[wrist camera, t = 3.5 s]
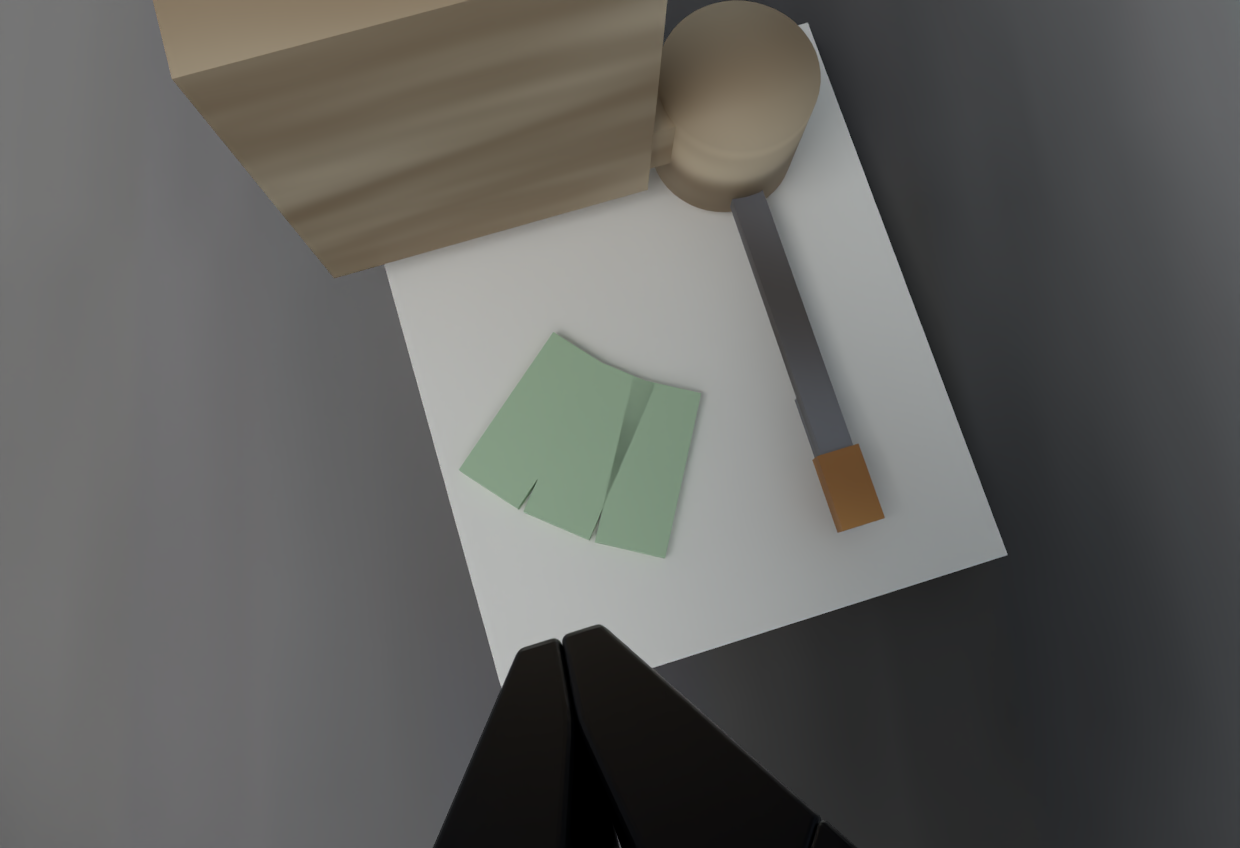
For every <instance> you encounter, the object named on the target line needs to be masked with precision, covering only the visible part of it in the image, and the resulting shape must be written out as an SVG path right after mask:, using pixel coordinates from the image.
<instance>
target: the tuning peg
mask: <svg viewBox="0 0 1240 848" xmlns="http://www.w3.org/2000/svg"><path fill="white" fill-rule="evenodd" d="M153 3H154V7H155V11H156V15H157V19H158V23H159V27H160V32H161V36H162V40H163V44H164V48H165V52H166V56H167V60H168V64H169V68H170V73H171V77H172V79H173V81H174V82H175V83H176V84H177V86H178V87H179V88H180V89H181V91H182V92H183V93H184V94H185V95H186V97H187V98H188V99H189V100H190V102H191V103H192V104H193V105H194V107H195V108H196V109H197V110H198V111H199V113H200V114H201V115H202V116H203V118H204V119H205V120H206V121H207V122H208V124H209V125H210V126H211V127H212V129H213V130H214V131H215V132H216V134H217V135H218V136H219V137H220V138H221V140H222V141H223V142H224V143H225V145H226V146H227V147H228V148H229V150H230V151H231V152H232V153H233V154H234V156H235V157H236V158H237V159H238V161H239V162H240V163H241V164H242V166H243V167H244V168H245V169H246V170H247V172H248V173H249V174H250V175H251V177H252V178H253V179H254V180H255V181H256V183H257V184H258V185H259V186H260V188H261V189H262V190H263V191H264V193H265V194H266V195H267V196H268V197H269V199H270V200H271V201H272V202H273V204H274V205H275V206H276V207H277V209H278V210H279V211H280V212H281V213H282V215H283V216H284V217H285V218H286V220H287V221H288V222H289V223H290V225H291V226H292V227H293V228H294V229H295V231H296V232H297V233H298V234H299V236H300V237H301V238H302V239H303V240H304V242H305V243H306V244H307V245H308V247H309V248H310V249H311V250H312V252H313V253H314V254H315V255H316V256H317V258H318V259H319V260H320V261H321V263H322V264H323V265H324V266H325V268H326V269H327V270H328V271H329V272H330V274H331V275H332V276H333V277H334V278H337V277H341V276H344V275H348V274H351V273H355V272H358V271H362V270H365V269H369V268H372V267H376V266H380V265H383V264H387V263H390V262H394V261H397V260H401V259H404V258H408V257H411V256H415V255H419V254H422V253H426V252H429V251H433V250H436V249H440V248H443V247H447V246H450V245H454V244H458V243H461V242H465V241H468V240H472V239H475V238H479V237H482V236H486V235H489V234H493V233H496V232H500V231H504V230H507V229H511V228H514V227H518V226H521V225H525V224H528V223H532V222H535V221H539V220H543V219H546V218H550V217H553V216H557V215H560V214H564V213H567V212H571V211H574V210H578V209H582V208H585V207H589V206H592V205H596V204H599V203H603V202H606V201H610V200H613V199H617V198H620V197H624V196H628V195H631V194H635V193H638V192H642V191H645V190H648V182H649V172H650V169H651V168H654V167H655V169H656V171H657V173H658V175H659V177H660V178H661V180H662V181H663V183H664V184H665V185H666V187H667V188H668V189H669V190H670V191H671V192H672V193H673V194H674V195H676V196H677V197H678V198H680V199H681V200H683V201H684V202H686V203H688V204H690V205H692V206H695V207H697V208H700V209H703V210H707V211H714V212H732V214H733V217H734V220H735V223H736V225H737V228H738V231H739V234H740V237H741V240H742V243H743V246H744V249H745V251H746V254H747V257H748V260H749V263H750V266H751V269H752V272H753V274H754V277H755V280H756V283H757V286H758V289H759V292H760V295H761V298H762V300H763V303H764V306H765V309H766V312H767V315H768V318H769V321H770V323H771V326H772V329H773V332H774V335H775V338H776V341H777V344H778V346H779V349H780V352H781V355H782V358H783V361H784V364H785V367H786V370H787V372H788V375H789V378H790V381H791V384H792V387H793V390H794V393H795V395H796V398H797V401H798V404H799V407H800V410H801V413H802V416H803V419H804V421H805V424H806V427H807V430H808V433H809V436H810V439H811V442H812V444H813V447H814V450H815V453H816V456H817V457H815V458H814V459H813V460H812V461H813V463H814V466H815V469H816V472H817V475H818V478H819V481H820V484H821V487H822V489H823V492H824V495H825V498H826V501H827V504H828V507H829V510H830V513H831V515H832V518H833V521H834V524H835V527H836V530H837V533H839V532H842V531H845V530H849V529H852V528H855V527H858V526H861V525H865V524H868V523H871V522H874V521H877V520H880V519H884V518H885V516H884V514H883V511H882V508H881V505H880V502H879V500H878V497H877V494H876V491H875V488H874V486H873V483H872V480H871V477H870V474H869V471H868V469H867V466H866V463H865V460H864V457H863V455H862V452H861V449H860V446H859V444H855V445H853V443H852V440H851V437H850V434H849V432H848V429H847V426H846V423H845V420H844V417H843V415H842V412H841V409H840V406H839V403H838V401H837V398H836V395H835V392H834V389H833V386H832V384H831V381H830V378H829V375H828V372H827V370H826V367H825V364H824V361H823V358H822V355H821V353H820V350H819V347H818V344H817V341H816V339H815V336H814V333H813V330H812V327H811V324H810V322H809V319H808V316H807V313H806V310H805V308H804V305H803V302H802V299H801V296H800V293H799V291H798V288H797V285H796V282H795V279H794V276H793V274H792V271H791V268H790V265H789V262H788V260H787V257H786V254H785V251H784V248H783V245H782V243H781V240H780V237H779V234H778V231H777V229H776V226H775V223H774V220H773V217H772V214H771V212H770V209H769V206H768V203H767V200H766V198H767V197H769V196H770V195H771V194H772V193H773V192H774V191H775V190H776V189H777V188H778V186H779V185H780V184H781V182H782V181H783V179H784V177H785V175H786V173H787V171H788V169H789V166H790V164H791V161H792V159H793V157H794V154H795V152H796V149H797V147H798V145H799V142H800V140H801V138H802V135H803V133H804V130H805V128H806V126H807V123H808V121H809V118H810V116H811V114H812V111H813V109H814V106H815V104H816V102H817V98H818V95H819V91H820V83H821V72H820V65H819V60H818V57H817V54H816V51H815V49H814V47H813V45H812V43H811V41H810V40H809V38H808V37H807V35H806V34H805V33H804V31H803V30H802V29H801V28H800V27H799V26H798V25H797V24H796V23H795V22H794V21H793V20H791V19H790V18H789V17H787V16H786V15H785V14H783V13H781V12H779V11H778V10H776V9H773V8H771V7H769V6H766V5H763V4H759V3H756V2H749V1H735V0H734V1H723V2H718V3H714V4H711V5H708V6H705V7H703V8H700V9H698V10H696V11H694V12H693V13H691V14H690V15H688V16H687V17H685V18H684V19H683V20H682V21H681V22H680V23H679V24H678V25H677V26H676V27H675V28H674V29H673V30H672V32H671V33H670V35H669V36H668V38H667V39H666V41H665V43H664V45H663V37H664V27H665V18H666V8H667V0H153ZM662 47H663V48H662Z"/></svg>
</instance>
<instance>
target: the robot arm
mask: <svg viewBox="0 0 1240 848" xmlns="http://www.w3.org/2000/svg"><path fill="white" fill-rule="evenodd" d="M616 834H617V835H616ZM617 836H618V839H619V842H620V845H621V848H857V847H856V846H855V845H854V844H852V843H851V842H850V841H849V840H848V839H847V838H846V837H845V836H843V835H842V834H841V833H840V832H839V831H838V830H837V829H835V828H834V827H833V826H832V825H831V824H830V823H829V822H827V821H821V818H820V816H819V815H818V814H817V813H816V812H815V811H813V810H812V809H811V808H810V807H809V806H808V805H807V804H805V803H804V802H803V801H802V800H801V799H800V798H799V797H798V796H796V795H795V794H794V793H793V792H792V791H791V790H790V789H789V788H787V787H786V786H785V785H784V784H783V783H782V782H781V781H779V780H778V779H777V778H776V777H775V776H774V775H773V774H772V773H770V772H769V771H768V770H767V769H766V768H765V767H764V766H762V765H761V764H760V763H759V762H758V761H757V760H756V759H755V758H753V757H752V756H751V755H750V754H749V753H748V752H747V751H745V750H744V749H743V748H742V747H741V746H740V745H739V744H738V743H736V742H735V741H734V740H733V739H732V738H731V737H730V736H728V735H727V734H726V733H725V732H724V731H723V730H722V729H721V728H719V727H718V726H717V725H716V724H715V723H714V722H713V721H712V720H710V719H709V718H708V717H707V716H706V715H705V714H704V713H702V712H701V711H700V710H699V709H698V708H697V707H696V706H695V705H693V704H692V703H691V702H690V701H689V700H688V699H687V698H685V697H684V696H683V695H682V694H681V693H680V692H679V691H678V690H676V689H675V688H674V687H673V686H672V685H671V684H670V683H668V682H667V681H666V680H665V679H664V678H663V677H662V676H661V675H659V674H658V673H657V672H656V671H655V670H654V669H653V668H651V667H650V666H649V665H648V664H647V663H646V662H645V661H644V660H642V659H641V658H640V657H639V656H638V655H637V654H636V653H634V652H633V651H632V650H631V649H630V648H629V647H628V646H627V645H625V644H624V643H623V642H622V641H621V640H620V639H619V638H618V637H616V636H615V635H614V634H613V633H612V632H611V631H610V630H608V629H607V628H606V627H604V626H603V625H600V624H597V625H593V626H590V627H586V628H583V629H580V630H577V631H574V632H570V633H568V634H566V635H565V636H564V637H563V639H562V643H561V641H560V640H558V639H556V638H551V639H548V640H545V641H542V642H539V643H536V644H532V645H529V646H526V647H523V648H521V649H520V650H519V651H518V652H517V654H516V656H515V658H514V660H513V663H512V665H511V667H510V670H509V672H508V674H507V677H506V679H505V681H504V684H503V686H502V688H501V691H500V693H499V695H498V698H497V700H496V702H495V705H494V707H493V709H492V712H491V714H490V716H489V719H488V721H487V723H486V726H485V728H484V730H483V733H482V735H481V737H480V739H479V742H478V744H477V746H476V749H475V751H474V753H473V756H472V758H471V760H470V763H469V765H468V767H467V770H466V772H465V774H464V777H463V779H462V781H461V784H460V786H459V788H458V791H457V793H456V795H455V798H454V800H453V802H452V805H451V807H450V809H449V812H448V814H447V816H446V819H445V821H444V823H443V826H442V828H441V830H440V833H439V835H438V837H437V840H436V842H435V844H434V847H433V848H619V844H618V839H617Z"/></svg>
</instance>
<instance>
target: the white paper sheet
mask: <svg viewBox="0 0 1240 848" xmlns="http://www.w3.org/2000/svg"><path fill="white" fill-rule="evenodd" d="M798 26H799V27H800V28H801V29H802V30H803V31H804V33H805V34H806V35H807V37H808V38H809V40H810V41H811V43H812V45H813V47H814V49H815V51H816V54H817V57H818V60H819V65H820V72H821V83H820V91H819V95H818V98H817V102H816V104H815V106H814V109H813V111H812V114H811V116H810V118H809V121H808V123H807V126H806V128H805V130H804V133H803V135H802V138H801V140H800V142H799V145H798V147H797V149H796V152H795V154H794V157H793V159H792V161H791V164H790V166H789V169H788V171H787V173H786V175H785V177H784V179H783V181H782V182H781V184H780V185H779V186H778V188H777V189H776V190H775V191H774V192H773V193H772V194H771V195H770V196H769V197H767V198H766V200H767V203H768V206H769V209H770V212H771V214H772V217H773V220H774V223H775V226H776V229H777V231H778V234H779V237H780V240H781V243H782V245H783V248H784V251H785V254H786V257H787V260H788V262H789V265H790V268H791V271H792V274H793V276H794V279H795V282H796V285H797V288H798V291H799V293H800V296H801V299H802V302H803V305H804V308H805V310H806V313H807V316H808V319H809V322H810V324H811V327H812V330H813V333H814V336H815V339H816V341H817V344H818V347H819V350H820V353H821V355H822V358H823V361H824V364H825V367H826V370H827V372H828V375H829V378H830V381H831V384H832V386H833V389H834V392H835V395H836V398H837V401H838V403H839V406H840V409H841V412H842V415H843V417H844V420H845V423H846V426H847V429H848V432H849V434H850V437H851V440H852V443H853V445H855V444H859V446H860V449H861V452H862V455H863V457H864V460H865V463H866V466H867V469H868V471H869V474H870V477H871V480H872V483H873V486H874V488H875V491H876V494H877V497H878V500H879V502H880V505H881V508H882V511H883V514H884V516H885V518H884V519H880V520H877V521H874V522H871V523H868V524H865V525H861V526H858V527H855V528H852V529H849V530H845V531H842V532H839V533H837V530H836V527H835V524H834V521H833V518H832V515H831V513H830V510H829V507H828V504H827V501H826V498H825V495H824V492H823V489H822V487H821V484H820V481H819V478H818V475H817V472H816V469H815V466H814V463H813V461H812V460H813V459H814V458H815V457H817V456H816V453H815V450H814V447H813V444H812V442H811V439H810V436H809V433H808V430H807V427H806V424H805V421H804V419H803V416H802V413H801V410H800V407H799V404H798V401H797V398H796V395H795V393H794V390H793V387H792V384H791V381H790V378H789V375H788V372H787V370H786V367H785V364H784V361H783V358H782V355H781V352H780V349H779V346H778V344H777V341H776V338H775V335H774V332H773V329H772V326H771V323H770V321H769V318H768V315H767V312H766V309H765V306H764V303H763V300H762V298H761V295H760V292H759V289H758V286H757V283H756V280H755V277H754V274H753V272H752V269H751V266H750V263H749V260H748V257H747V254H746V251H745V249H744V246H743V243H742V240H741V237H740V234H739V231H738V228H737V225H736V223H735V220H734V217H733V214H732V212H714V211H707V210H703V209H700V208H697V207H695V206H692V205H690V204H688V203H686V202H684V201H683V200H681V199H680V198H678V197H677V196H676V195H674V194H673V193H672V192H671V191H670V190H669V189H668V188H667V187H666V185H665V184H664V183H663V181H662V180H661V178H660V177H659V175H658V173H657V171H656V169H655V167H654V168H651V169H650V172H649V182H648V190H645V191H642V192H638V193H635V194H631V195H628V196H624V197H620V198H617V199H613V200H610V201H606V202H603V203H599V204H596V205H592V206H589V207H585V208H582V209H578V210H574V211H571V212H567V213H564V214H560V215H557V216H553V217H550V218H546V219H543V220H539V221H535V222H532V223H528V224H525V225H521V226H518V227H514V228H511V229H507V230H504V231H500V232H496V233H493V234H489V235H486V236H482V237H479V238H475V239H472V240H468V241H465V242H461V243H458V244H454V245H450V246H447V247H443V248H440V249H436V250H433V251H429V252H426V253H422V254H419V255H415V256H411V257H408V258H404V259H401V260H397V261H394V262H390V263H387V264H384V265H385V269H386V272H387V276H388V280H389V283H390V287H391V290H392V294H393V298H394V301H395V305H396V309H397V312H398V316H399V319H400V323H401V327H402V330H403V334H404V337H405V341H406V345H407V348H408V352H409V356H410V359H411V363H412V366H413V370H414V374H415V377H416V381H417V385H418V388H419V392H420V395H421V399H422V403H423V406H424V410H425V413H426V417H427V421H428V424H429V428H430V432H431V435H432V439H433V442H434V446H435V450H436V453H437V457H438V460H439V464H440V468H441V471H442V475H443V479H444V482H445V486H446V489H447V493H448V497H449V500H450V504H451V508H452V511H453V515H454V518H455V522H456V526H457V529H458V533H459V536H460V540H461V544H462V547H463V551H464V555H465V558H466V562H467V565H468V569H469V573H470V576H471V580H472V583H473V587H474V591H475V594H476V598H477V602H478V605H479V609H480V612H481V616H482V620H483V623H484V627H485V630H486V634H487V638H488V641H489V645H490V649H491V652H492V656H493V659H494V663H495V667H496V670H497V674H498V678H499V681H500V685H501V688H502V686H503V684H504V681H505V679H506V677H507V674H508V672H509V670H510V667H511V665H512V663H513V660H514V658H515V656H516V654H517V652H518V651H519V650H520V649H521V648H523V647H526V646H529V645H532V644H536V643H539V642H542V641H545V640H548V639H551V638H556V639H558V640H560V641H561V643H562V639H563V637H564V636H565V635H566V634H568V633H570V632H574V631H577V630H580V629H583V628H586V627H590V626H593V625H597V624H600V625H603V626H604V627H606V628H607V629H608V630H610V631H611V632H612V633H613V634H614V635H615V636H616V637H618V638H619V639H620V640H621V641H622V642H623V643H624V644H625V645H627V646H628V647H629V648H630V649H631V650H632V651H633V652H634V653H636V654H637V655H638V656H639V657H640V658H641V659H642V660H644V661H645V662H646V663H647V664H648V665H649V666H650V667H651V668H654V667H657V666H660V665H663V664H666V663H670V662H673V661H676V660H679V659H682V658H685V657H688V656H692V655H695V654H698V653H701V652H704V651H707V650H710V649H714V648H717V647H720V646H723V645H726V644H729V643H732V642H736V641H739V640H742V639H745V638H748V637H751V636H754V635H758V634H761V633H764V632H767V631H770V630H773V629H777V628H780V627H783V626H786V625H789V624H792V623H795V622H799V621H802V620H805V619H808V618H811V617H814V616H817V615H821V614H824V613H827V612H830V611H833V610H836V609H839V608H843V607H846V606H849V605H852V604H855V603H858V602H861V601H865V600H868V599H871V598H874V597H877V596H880V595H884V594H887V593H890V592H893V591H896V590H899V589H902V588H906V587H909V586H912V585H915V584H918V583H921V582H924V581H928V580H931V579H934V578H937V577H940V576H943V575H946V574H950V573H953V572H956V571H959V570H962V569H965V568H968V567H972V566H975V565H978V564H981V563H984V562H987V561H990V560H994V559H997V558H1000V557H1003V556H1006V555H1008V554H1007V552H1006V549H1005V546H1004V544H1003V541H1002V538H1001V536H1000V533H999V530H998V528H997V525H996V522H995V520H994V517H993V514H992V512H991V509H990V506H989V504H988V501H987V498H986V496H985V493H984V490H983V488H982V485H981V482H980V480H979V477H978V474H977V472H976V469H975V467H974V464H973V461H972V459H971V456H970V453H969V451H968V448H967V445H966V443H965V440H964V437H963V435H962V432H961V429H960V427H959V424H958V421H957V419H956V416H955V413H954V411H953V408H952V405H951V403H950V400H949V397H948V395H947V392H946V389H945V387H944V384H943V381H942V379H941V376H940V373H939V371H938V368H937V365H936V363H935V360H934V357H933V355H932V352H931V349H930V347H929V344H928V341H927V339H926V336H925V333H924V331H923V328H922V325H921V323H920V320H919V317H918V315H917V312H916V310H915V307H914V304H913V302H912V299H911V296H910V294H909V291H908V288H907V286H906V283H905V280H904V278H903V275H902V272H901V270H900V267H899V264H898V262H897V259H896V256H895V254H894V251H893V248H892V246H891V243H890V240H889V238H888V235H887V232H886V230H885V227H884V224H883V222H882V219H881V216H880V214H879V211H878V208H877V206H876V203H875V200H874V198H873V195H872V192H871V190H870V187H869V184H868V182H867V179H866V176H865V174H864V171H863V168H862V166H861V163H860V161H859V158H858V155H857V153H856V150H855V147H854V145H853V142H852V139H851V137H850V134H849V131H848V129H847V126H846V123H845V121H844V118H843V115H842V113H841V110H840V107H839V105H838V102H837V99H836V97H835V94H834V91H833V89H832V86H831V83H830V81H829V78H828V75H827V73H826V70H825V67H824V65H823V62H822V59H821V57H820V54H819V51H818V49H817V46H816V43H815V41H814V38H813V35H812V33H811V30H810V27H809V25H808V23H805V24H801V25H798Z"/></svg>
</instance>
